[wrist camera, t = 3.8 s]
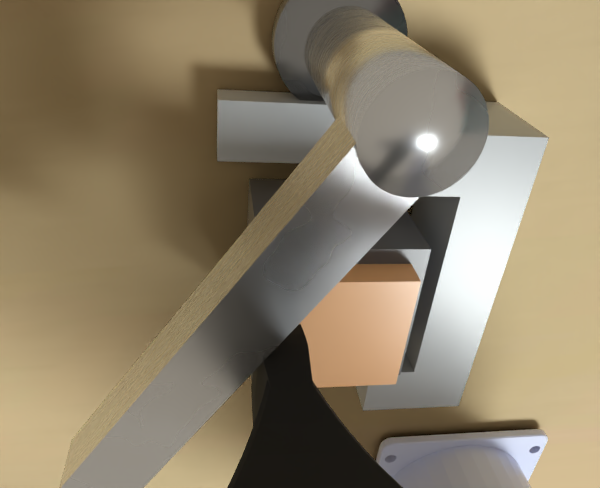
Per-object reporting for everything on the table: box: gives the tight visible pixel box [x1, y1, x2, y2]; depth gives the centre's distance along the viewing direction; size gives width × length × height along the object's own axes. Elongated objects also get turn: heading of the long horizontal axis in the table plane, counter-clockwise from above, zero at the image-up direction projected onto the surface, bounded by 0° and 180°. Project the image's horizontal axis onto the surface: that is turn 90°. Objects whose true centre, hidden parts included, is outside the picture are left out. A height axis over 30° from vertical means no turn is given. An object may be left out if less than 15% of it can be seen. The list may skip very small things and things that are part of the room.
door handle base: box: [272, 0, 407, 101], centre depth 15 cm, size 4×4×1 cm
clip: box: [59, 6, 489, 488], centre depth 13 cm, size 12×2×6 cm, turn 141°
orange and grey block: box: [247, 179, 431, 388], centre depth 17 cm, size 4×4×5 cm
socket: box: [217, 89, 549, 411], centre depth 17 cm, size 10×8×3 cm
